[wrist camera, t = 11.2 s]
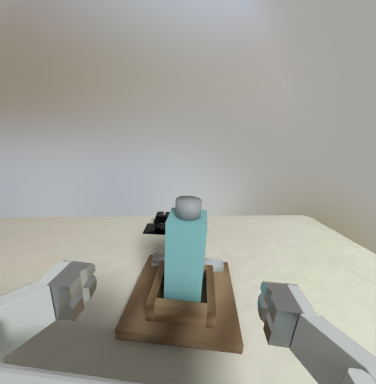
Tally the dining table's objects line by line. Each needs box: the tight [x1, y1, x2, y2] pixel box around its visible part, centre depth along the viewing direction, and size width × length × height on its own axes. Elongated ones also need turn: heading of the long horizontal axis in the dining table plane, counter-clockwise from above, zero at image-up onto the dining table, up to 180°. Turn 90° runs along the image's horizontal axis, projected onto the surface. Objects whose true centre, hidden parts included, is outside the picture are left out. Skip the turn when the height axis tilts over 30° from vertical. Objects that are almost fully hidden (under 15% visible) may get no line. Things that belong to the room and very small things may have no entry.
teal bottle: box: [164, 196, 207, 302], centre depth 24 cm, size 4×4×14 cm
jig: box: [115, 253, 243, 354], centre depth 27 cm, size 14×14×4 cm
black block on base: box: [143, 212, 170, 235], centre depth 46 cm, size 12×7×5 cm, turn 89°
